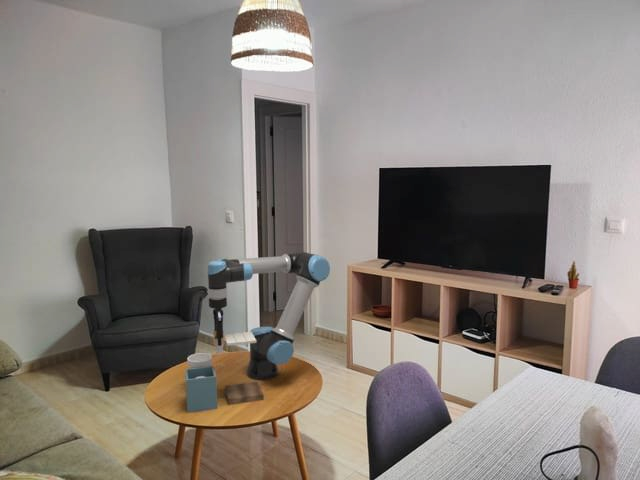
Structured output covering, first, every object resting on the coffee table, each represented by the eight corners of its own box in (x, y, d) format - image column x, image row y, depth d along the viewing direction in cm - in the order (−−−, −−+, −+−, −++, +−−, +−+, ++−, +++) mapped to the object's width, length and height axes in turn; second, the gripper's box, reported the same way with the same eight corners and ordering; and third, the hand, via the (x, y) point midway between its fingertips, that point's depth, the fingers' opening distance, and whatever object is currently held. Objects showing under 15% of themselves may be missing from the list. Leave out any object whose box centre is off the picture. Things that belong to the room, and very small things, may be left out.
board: (257, 386, 228) (257, 381, 228) (263, 399, 215) (263, 394, 215) (224, 391, 224) (224, 385, 223) (228, 404, 210) (228, 399, 210)
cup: (183, 389, 225) (181, 359, 223) (197, 380, 235) (196, 351, 234) (204, 393, 221) (202, 363, 219) (217, 383, 231) (217, 354, 229)
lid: (251, 337, 223) (251, 324, 223) (256, 346, 212) (256, 332, 211) (212, 340, 218) (212, 327, 217) (215, 350, 207) (215, 336, 206)
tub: (214, 396, 218) (213, 365, 217) (217, 408, 207) (216, 376, 205) (186, 400, 215) (185, 369, 213) (187, 412, 204) (186, 380, 202)
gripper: (206, 293, 217) (208, 345, 220) (210, 303, 201) (212, 358, 204) (224, 292, 219) (225, 343, 222) (229, 301, 204) (230, 356, 207)
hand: (219, 350), depth 213 cm, fingers closed on lid, 3 cm apart
